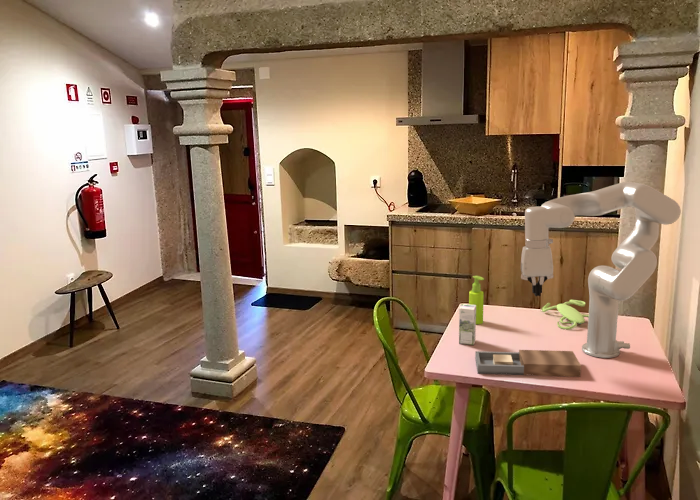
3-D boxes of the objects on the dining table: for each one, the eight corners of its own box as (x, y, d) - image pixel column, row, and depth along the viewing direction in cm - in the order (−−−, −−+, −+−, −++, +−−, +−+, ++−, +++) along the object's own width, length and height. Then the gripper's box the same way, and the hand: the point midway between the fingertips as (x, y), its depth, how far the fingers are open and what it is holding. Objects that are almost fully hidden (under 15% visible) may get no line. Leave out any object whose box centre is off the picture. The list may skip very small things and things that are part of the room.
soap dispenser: (476, 326, 239) (477, 279, 235) (465, 321, 245) (466, 275, 241) (487, 323, 242) (488, 277, 237) (476, 318, 248) (477, 273, 243)
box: (518, 360, 205) (519, 352, 205) (523, 375, 194) (524, 366, 193) (475, 359, 207) (475, 351, 207) (477, 373, 196) (477, 365, 195)
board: (572, 361, 203) (572, 351, 202) (580, 376, 191) (581, 365, 190) (518, 360, 205) (519, 349, 204) (523, 375, 194) (524, 363, 193)
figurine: (579, 308, 258) (580, 296, 257) (606, 329, 232) (607, 316, 231) (538, 310, 258) (538, 297, 257) (560, 331, 232) (561, 317, 231)
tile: (493, 354, 203) (492, 360, 204) (494, 361, 197) (494, 368, 198) (510, 354, 202) (510, 361, 203) (513, 362, 196) (512, 368, 197)
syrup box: (475, 339, 225) (476, 304, 222) (473, 345, 219) (474, 309, 216) (460, 338, 227) (461, 303, 224) (458, 344, 221) (459, 307, 218)
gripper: (557, 239, 199) (557, 290, 204) (512, 242, 201) (513, 292, 206) (562, 244, 192) (562, 297, 196) (515, 247, 194) (516, 299, 198)
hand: (537, 294), depth 201 cm, fingers closed
